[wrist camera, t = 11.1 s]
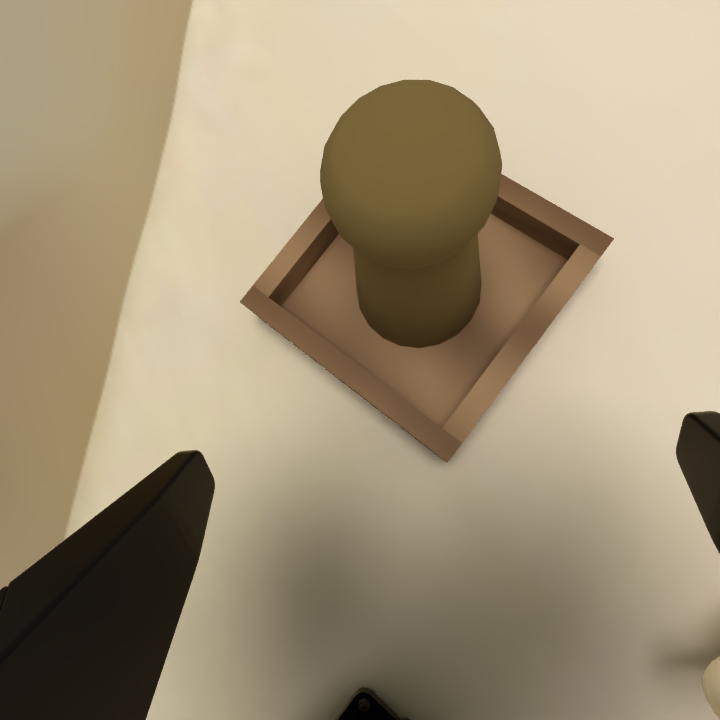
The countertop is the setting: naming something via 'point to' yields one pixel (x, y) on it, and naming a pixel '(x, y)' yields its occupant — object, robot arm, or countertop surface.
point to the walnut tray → (458, 354)
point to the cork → (413, 205)
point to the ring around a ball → (713, 685)
